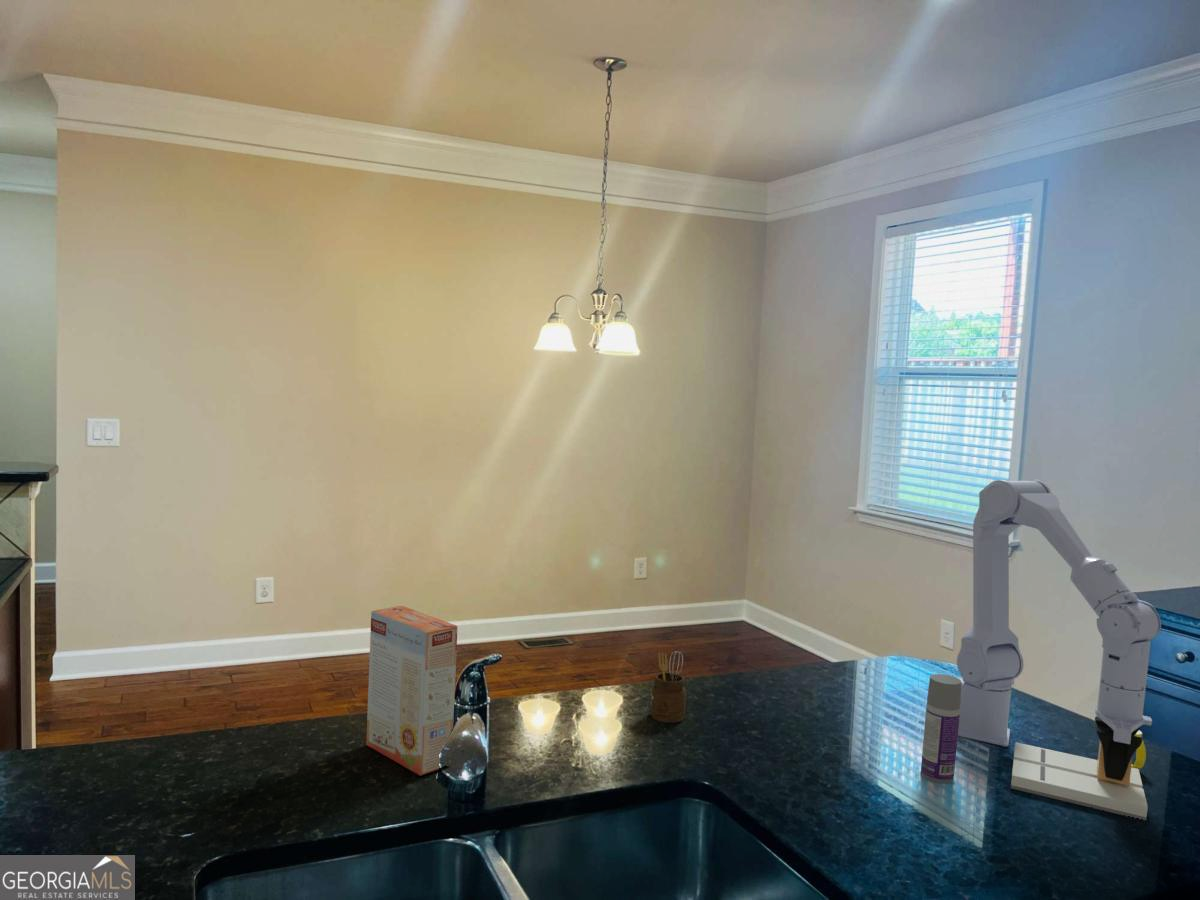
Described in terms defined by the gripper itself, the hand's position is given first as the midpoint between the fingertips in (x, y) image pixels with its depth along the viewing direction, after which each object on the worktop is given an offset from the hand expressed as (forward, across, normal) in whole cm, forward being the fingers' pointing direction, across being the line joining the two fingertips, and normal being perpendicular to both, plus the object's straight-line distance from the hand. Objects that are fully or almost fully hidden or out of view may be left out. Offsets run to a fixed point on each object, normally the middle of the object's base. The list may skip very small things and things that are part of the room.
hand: (1113, 773), depth 127 cm
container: (+3, -9, +23) cm, 25 cm away
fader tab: (+3, 0, 0) cm, 3 cm away
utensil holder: (+3, -12, +66) cm, 67 cm away
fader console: (+3, 0, +5) cm, 6 cm away
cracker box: (+3, -48, +92) cm, 104 cm away
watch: (+3, +13, -3) cm, 14 cm away
